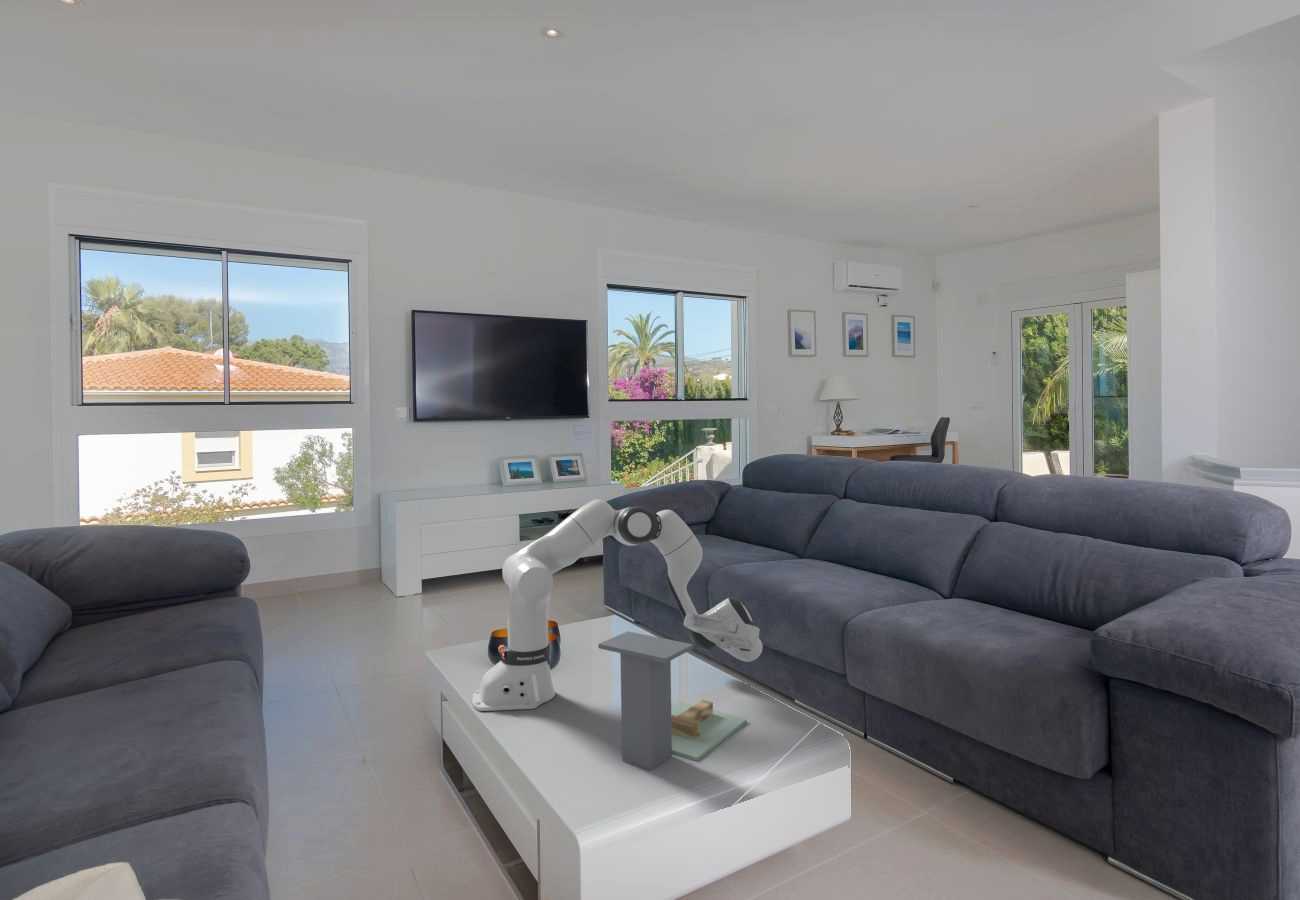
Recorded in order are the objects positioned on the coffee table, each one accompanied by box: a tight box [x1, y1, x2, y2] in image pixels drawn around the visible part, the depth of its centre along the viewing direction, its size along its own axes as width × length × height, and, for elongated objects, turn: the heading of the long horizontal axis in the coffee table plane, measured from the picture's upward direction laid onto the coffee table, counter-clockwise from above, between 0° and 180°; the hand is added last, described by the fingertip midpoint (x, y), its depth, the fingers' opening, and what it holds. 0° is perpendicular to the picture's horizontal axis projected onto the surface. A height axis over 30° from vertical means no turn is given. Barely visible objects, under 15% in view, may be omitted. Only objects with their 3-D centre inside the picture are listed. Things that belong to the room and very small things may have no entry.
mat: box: [671, 701, 748, 762], centre depth 172 cm, size 24×20×1 cm
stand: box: [598, 631, 694, 771], centre depth 158 cm, size 11×18×26 cm, turn 55°
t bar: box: [671, 699, 714, 740], centre depth 174 cm, size 15×10×3 cm, turn 144°
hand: (707, 619), depth 185 cm, fingers open, 8 cm apart
